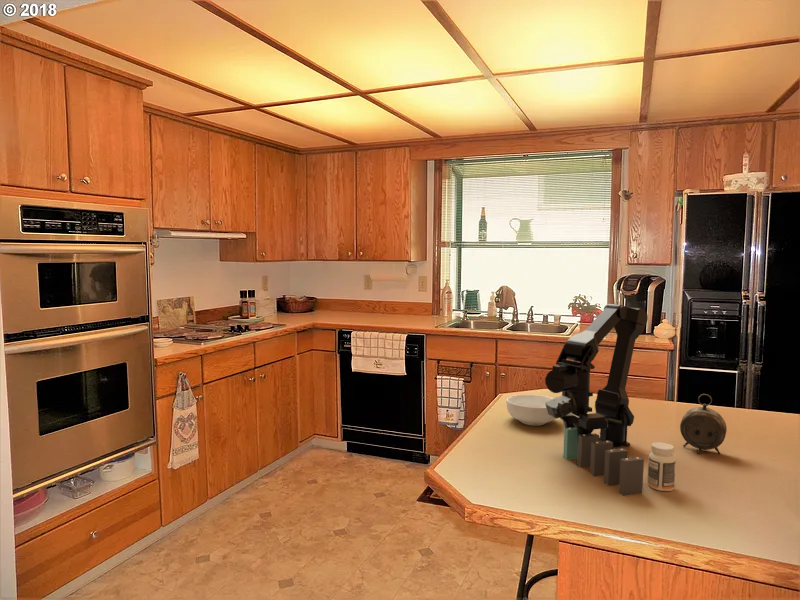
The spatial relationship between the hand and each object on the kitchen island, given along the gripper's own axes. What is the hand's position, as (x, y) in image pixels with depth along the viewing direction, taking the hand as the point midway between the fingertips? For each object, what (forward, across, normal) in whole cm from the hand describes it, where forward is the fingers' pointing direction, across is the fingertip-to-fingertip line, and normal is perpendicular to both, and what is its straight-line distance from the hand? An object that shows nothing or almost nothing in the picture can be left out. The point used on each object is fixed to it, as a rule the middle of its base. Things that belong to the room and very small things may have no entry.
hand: (575, 444), depth 147 cm
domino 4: (+4, +16, 0) cm, 17 cm away
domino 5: (+4, +22, 0) cm, 22 cm away
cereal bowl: (+4, -30, +4) cm, 31 cm away
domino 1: (+4, 0, -1) cm, 4 cm away
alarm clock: (+4, +5, +36) cm, 37 cm away
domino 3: (+4, +11, 0) cm, 12 cm away
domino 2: (+4, +6, 0) cm, 7 cm away
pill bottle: (+4, +21, +9) cm, 23 cm away
